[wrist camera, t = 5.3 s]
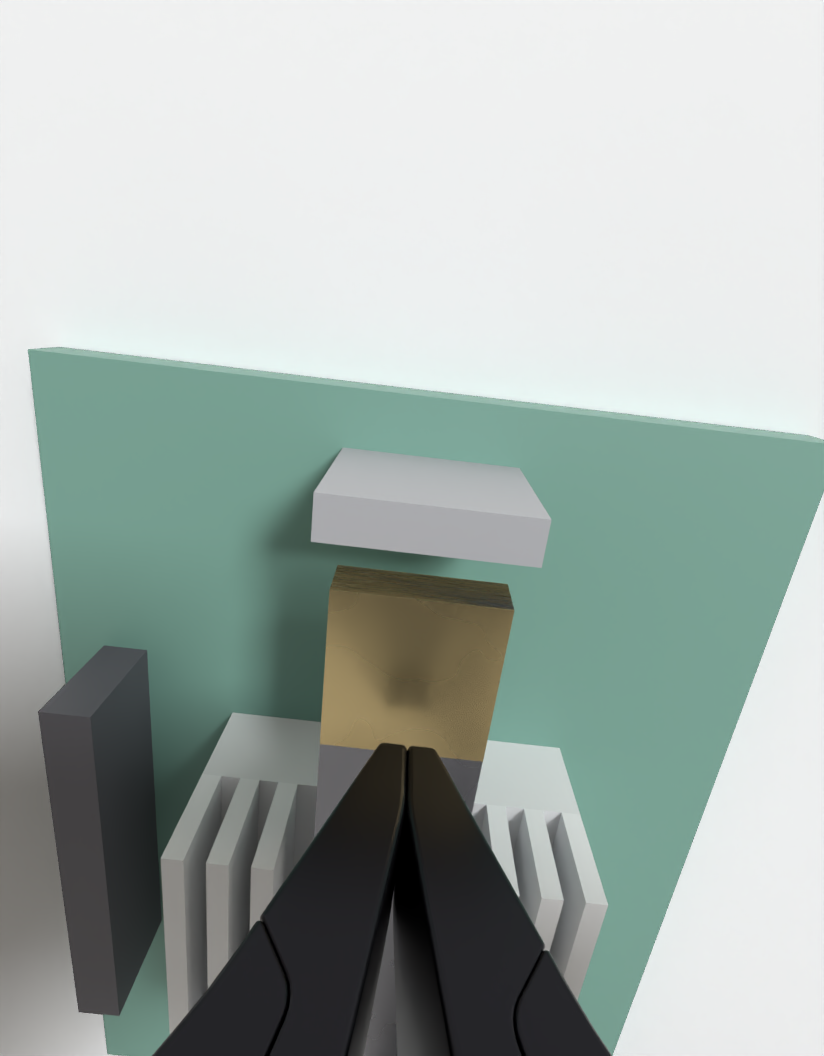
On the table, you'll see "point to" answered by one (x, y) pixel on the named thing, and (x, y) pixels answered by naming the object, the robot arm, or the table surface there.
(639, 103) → the table surface
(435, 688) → the gold-tipped grey bar
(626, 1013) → the board
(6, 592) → the table surface
